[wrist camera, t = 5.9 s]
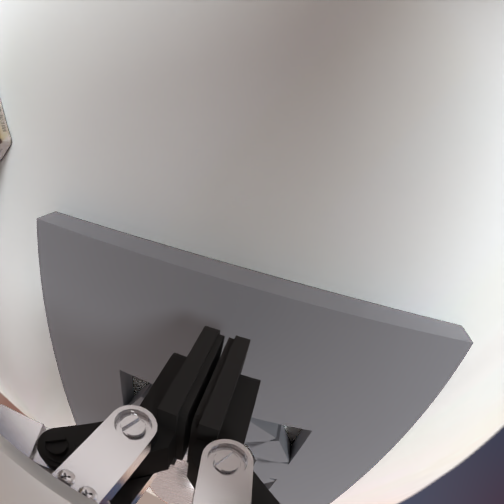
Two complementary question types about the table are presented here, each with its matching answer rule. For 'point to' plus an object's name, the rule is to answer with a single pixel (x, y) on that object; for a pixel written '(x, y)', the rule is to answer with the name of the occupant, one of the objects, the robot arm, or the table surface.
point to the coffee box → (3, 134)
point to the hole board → (258, 355)
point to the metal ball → (174, 484)
